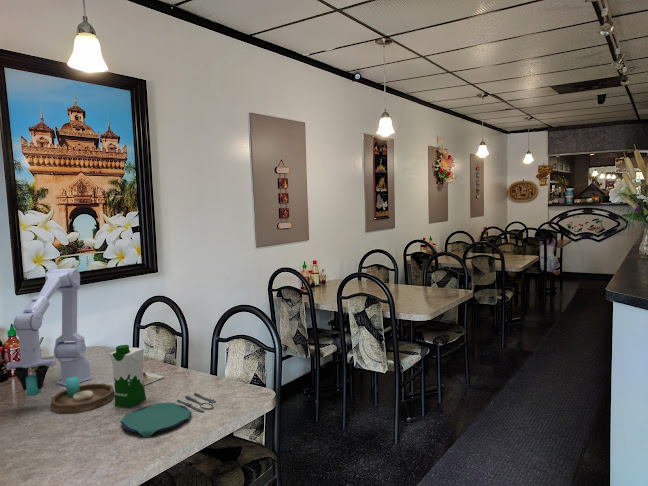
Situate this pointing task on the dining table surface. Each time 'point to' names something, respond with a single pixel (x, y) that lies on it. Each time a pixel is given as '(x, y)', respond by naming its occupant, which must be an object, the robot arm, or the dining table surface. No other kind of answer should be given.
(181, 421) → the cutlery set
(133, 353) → the milk carton
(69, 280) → the robot arm
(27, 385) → the bead
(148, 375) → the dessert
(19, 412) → the dining table surface
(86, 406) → the groove tray
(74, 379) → the teal upright block
